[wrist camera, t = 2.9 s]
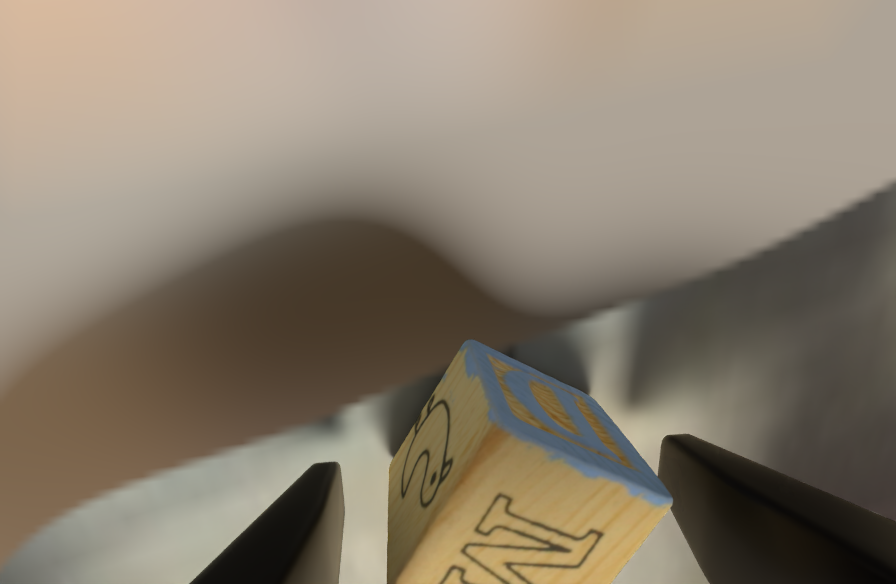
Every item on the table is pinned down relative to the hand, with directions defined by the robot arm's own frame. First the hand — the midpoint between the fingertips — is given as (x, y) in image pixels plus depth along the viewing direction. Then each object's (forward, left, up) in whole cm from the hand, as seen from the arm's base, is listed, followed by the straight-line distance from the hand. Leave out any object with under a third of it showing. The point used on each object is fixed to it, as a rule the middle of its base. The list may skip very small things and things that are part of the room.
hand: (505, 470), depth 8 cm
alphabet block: (0, 0, -1) cm, 1 cm away
